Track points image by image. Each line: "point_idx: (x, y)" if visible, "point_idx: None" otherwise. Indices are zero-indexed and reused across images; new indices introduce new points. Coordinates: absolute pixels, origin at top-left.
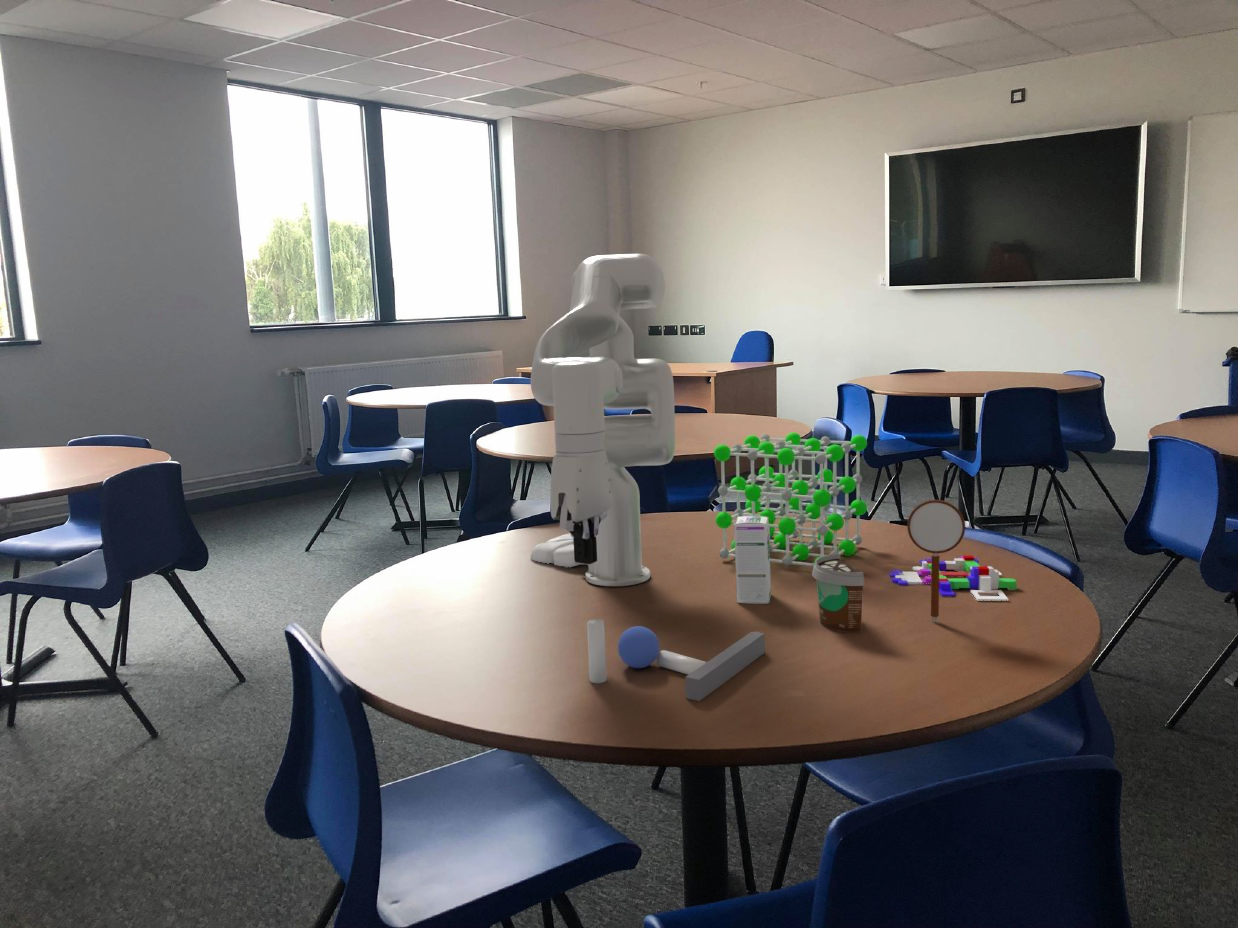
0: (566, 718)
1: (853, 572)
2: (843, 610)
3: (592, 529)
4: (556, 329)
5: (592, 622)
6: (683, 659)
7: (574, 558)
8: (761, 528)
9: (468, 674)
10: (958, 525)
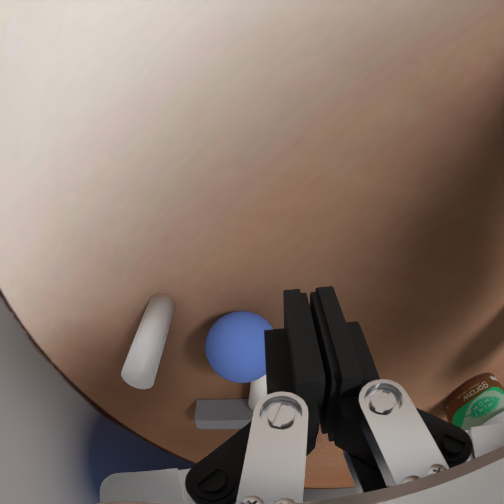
0: (67, 333)
1: None
2: (450, 422)
3: (349, 462)
4: None
5: (132, 375)
6: (257, 389)
7: (284, 296)
8: None
9: (39, 116)
10: None
